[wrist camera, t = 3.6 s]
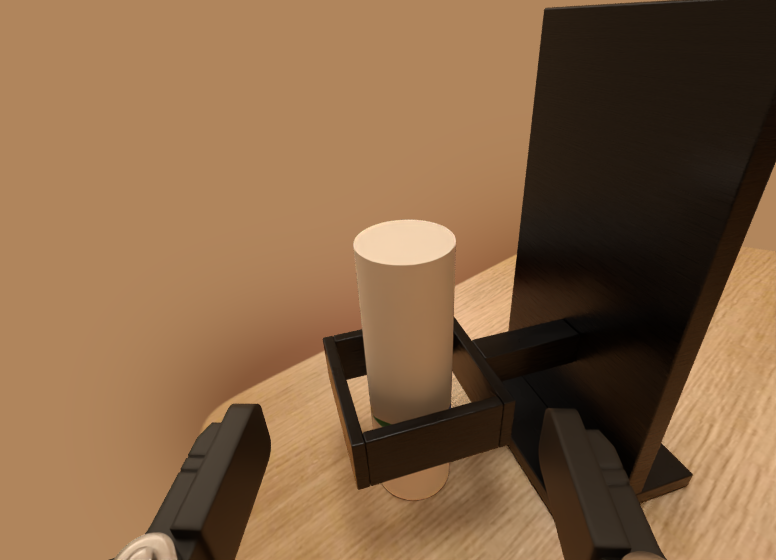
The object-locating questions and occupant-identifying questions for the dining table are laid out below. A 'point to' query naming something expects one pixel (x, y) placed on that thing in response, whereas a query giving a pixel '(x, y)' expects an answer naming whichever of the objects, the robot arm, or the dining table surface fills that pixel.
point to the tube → (407, 329)
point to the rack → (607, 240)
